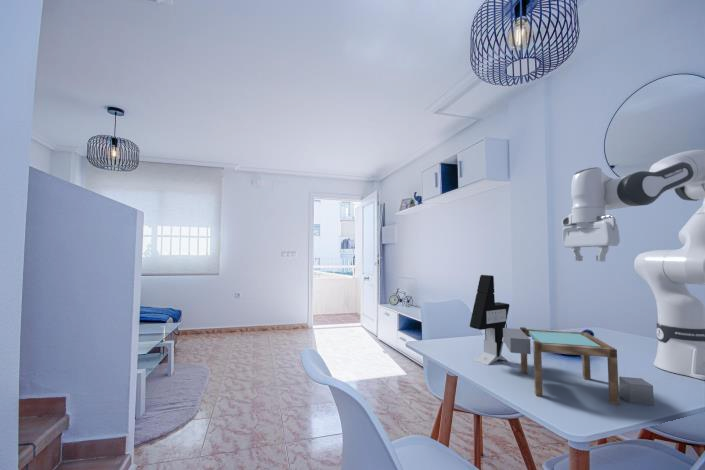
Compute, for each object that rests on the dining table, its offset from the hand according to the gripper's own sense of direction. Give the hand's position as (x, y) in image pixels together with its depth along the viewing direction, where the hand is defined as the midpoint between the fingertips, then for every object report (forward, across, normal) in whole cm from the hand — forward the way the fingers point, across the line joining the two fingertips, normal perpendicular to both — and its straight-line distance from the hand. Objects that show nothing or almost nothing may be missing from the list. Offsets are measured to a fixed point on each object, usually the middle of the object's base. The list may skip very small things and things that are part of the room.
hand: (589, 261), depth 104 cm
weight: (+36, -18, +2) cm, 40 cm away
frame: (+36, -9, +15) cm, 40 cm away
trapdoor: (+26, -8, +19) cm, 33 cm away
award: (+36, +14, +26) cm, 46 cm away
